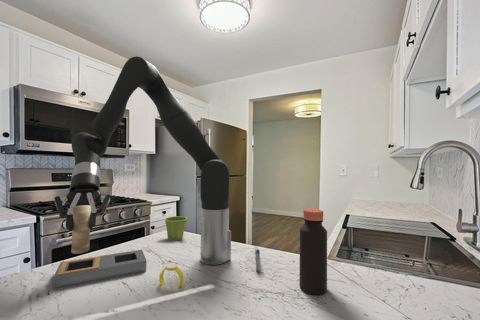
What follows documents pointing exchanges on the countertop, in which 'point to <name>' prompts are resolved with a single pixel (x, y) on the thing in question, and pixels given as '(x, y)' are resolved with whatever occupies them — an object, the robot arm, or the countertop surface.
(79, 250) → the peg
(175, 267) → the watch
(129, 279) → the countertop surface
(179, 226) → the plant pot
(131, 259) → the base plate
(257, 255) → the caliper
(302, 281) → the bottle
